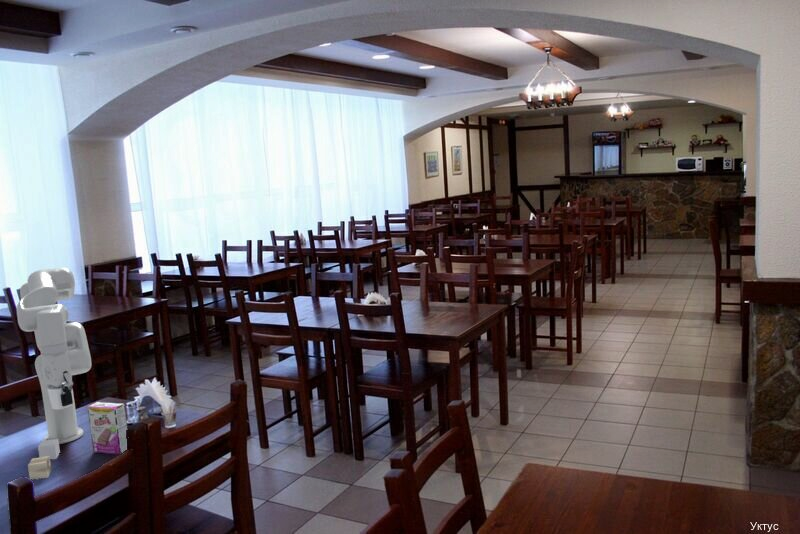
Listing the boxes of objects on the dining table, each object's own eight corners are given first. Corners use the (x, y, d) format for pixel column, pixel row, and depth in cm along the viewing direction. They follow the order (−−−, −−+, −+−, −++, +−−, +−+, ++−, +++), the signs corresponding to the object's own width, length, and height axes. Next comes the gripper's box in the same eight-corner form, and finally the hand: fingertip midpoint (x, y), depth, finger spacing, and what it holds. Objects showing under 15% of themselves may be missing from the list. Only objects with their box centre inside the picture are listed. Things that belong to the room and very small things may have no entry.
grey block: (43, 455, 223) (41, 441, 222) (60, 452, 224) (58, 438, 223) (40, 461, 218) (37, 447, 217) (56, 459, 219) (54, 444, 218)
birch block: (34, 473, 209) (32, 458, 209) (51, 470, 211) (49, 455, 210) (30, 480, 205) (27, 465, 204) (47, 477, 206) (45, 462, 205)
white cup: (64, 410, 207) (61, 389, 206) (45, 409, 209) (41, 388, 207) (78, 402, 214) (75, 381, 213) (60, 401, 215) (57, 381, 214)
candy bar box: (92, 453, 222) (86, 406, 219) (102, 446, 227) (96, 401, 224) (121, 455, 219) (114, 408, 216) (130, 449, 224) (125, 402, 221)
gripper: (28, 348, 210) (36, 401, 213) (56, 355, 200) (64, 412, 203) (52, 342, 216) (59, 394, 219) (80, 349, 206) (87, 404, 209)
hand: (61, 402), depth 211 cm, fingers closed on white cup, 6 cm apart
